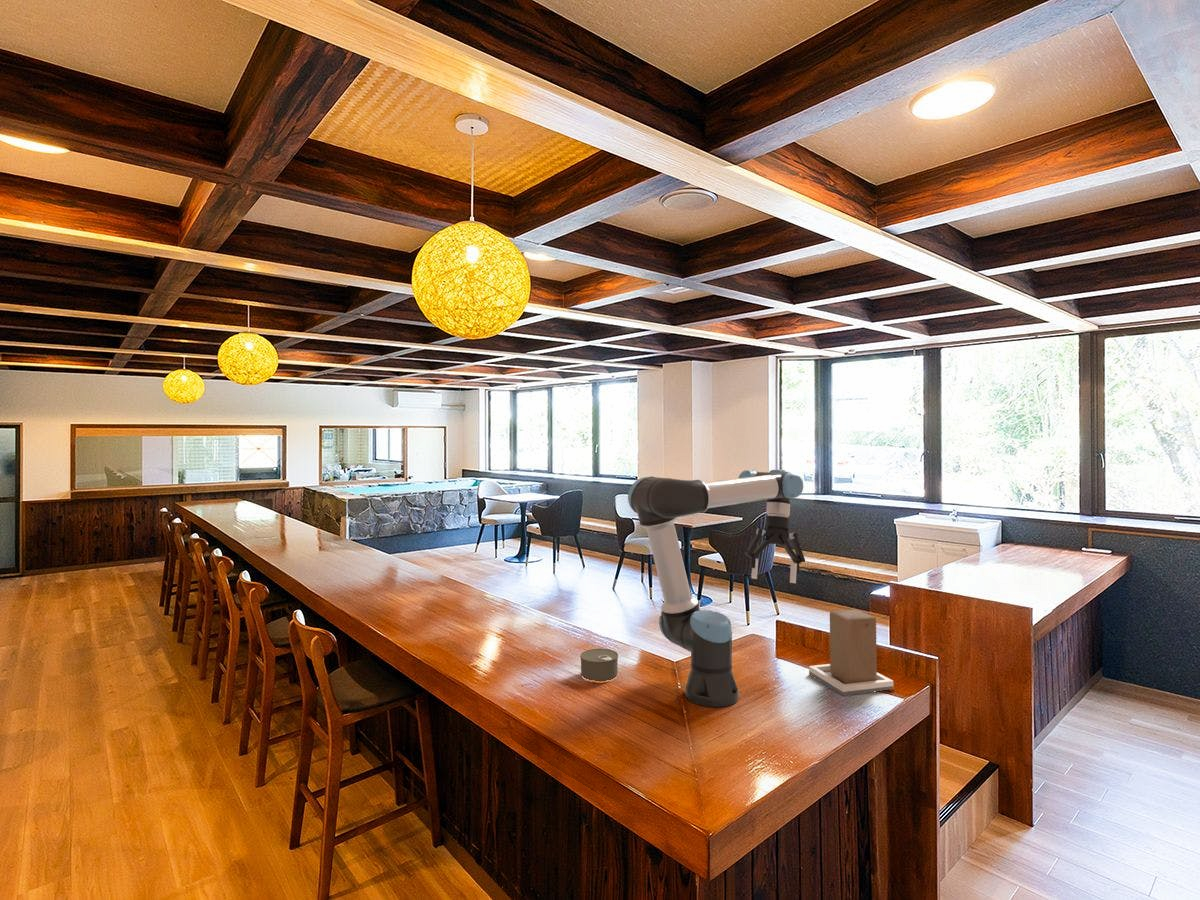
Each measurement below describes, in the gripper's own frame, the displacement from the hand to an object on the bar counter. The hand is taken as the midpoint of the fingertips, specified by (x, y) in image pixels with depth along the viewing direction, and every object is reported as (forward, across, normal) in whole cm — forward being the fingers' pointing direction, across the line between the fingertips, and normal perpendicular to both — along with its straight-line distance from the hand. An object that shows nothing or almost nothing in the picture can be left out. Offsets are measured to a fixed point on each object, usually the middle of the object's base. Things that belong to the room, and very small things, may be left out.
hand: (773, 581), depth 195 cm
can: (+36, +53, -8) cm, 64 cm away
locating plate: (+27, -21, +13) cm, 37 cm away
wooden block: (+26, -21, +14) cm, 37 cm away
